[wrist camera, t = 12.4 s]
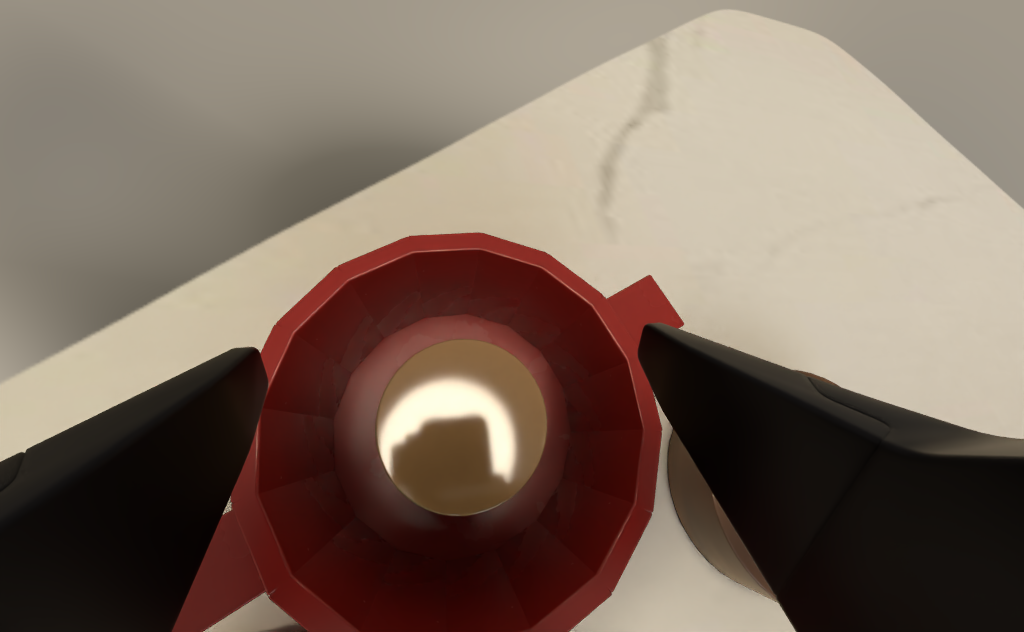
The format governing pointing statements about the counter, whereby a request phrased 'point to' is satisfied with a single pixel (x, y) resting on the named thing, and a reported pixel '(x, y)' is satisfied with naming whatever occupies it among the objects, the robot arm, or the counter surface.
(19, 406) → the counter surface
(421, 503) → the jar
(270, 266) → the counter surface
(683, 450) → the walnut block
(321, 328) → the pot
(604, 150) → the counter surface
